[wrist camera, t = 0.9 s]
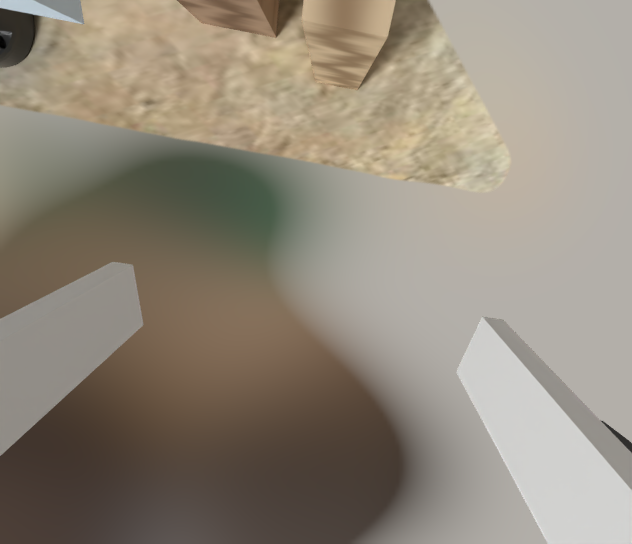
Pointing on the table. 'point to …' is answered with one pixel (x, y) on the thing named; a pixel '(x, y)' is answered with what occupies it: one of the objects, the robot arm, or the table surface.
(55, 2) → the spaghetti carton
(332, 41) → the oak step
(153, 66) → the table surface
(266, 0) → the walnut block
